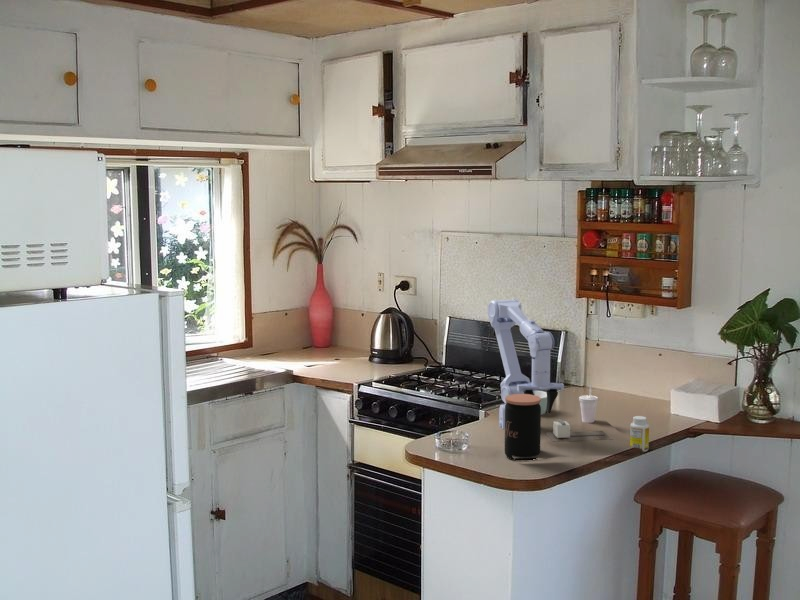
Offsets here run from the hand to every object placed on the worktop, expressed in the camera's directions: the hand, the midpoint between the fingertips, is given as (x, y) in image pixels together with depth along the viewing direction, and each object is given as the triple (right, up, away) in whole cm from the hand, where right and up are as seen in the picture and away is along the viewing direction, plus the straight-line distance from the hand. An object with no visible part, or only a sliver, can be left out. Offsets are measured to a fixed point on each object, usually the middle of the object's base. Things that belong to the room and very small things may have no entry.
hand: (540, 413), depth 289 cm
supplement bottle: (+29, -11, -8) cm, 32 cm away
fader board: (+12, -9, +2) cm, 16 cm away
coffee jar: (-7, -12, -13) cm, 19 cm away
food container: (+3, -5, +38) cm, 39 cm away
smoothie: (+19, -7, +20) cm, 29 cm away
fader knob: (+7, -8, +2) cm, 11 cm away
